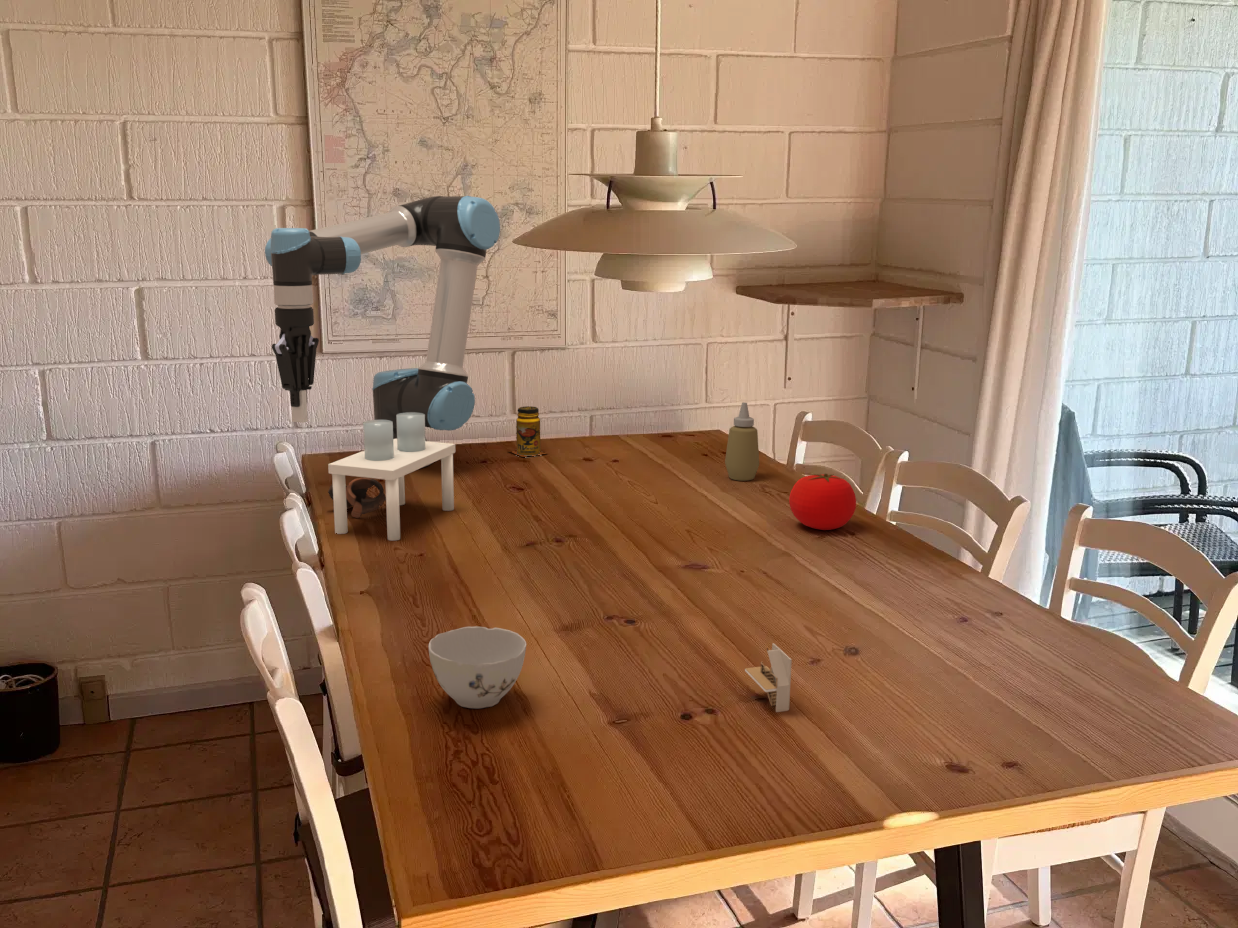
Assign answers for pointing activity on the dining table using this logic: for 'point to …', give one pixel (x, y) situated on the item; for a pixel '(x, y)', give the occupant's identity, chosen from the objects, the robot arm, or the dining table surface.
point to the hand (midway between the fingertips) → (300, 421)
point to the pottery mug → (362, 496)
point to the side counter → (391, 480)
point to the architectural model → (774, 678)
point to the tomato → (822, 501)
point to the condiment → (528, 431)
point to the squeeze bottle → (742, 447)
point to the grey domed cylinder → (410, 431)
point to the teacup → (477, 664)
